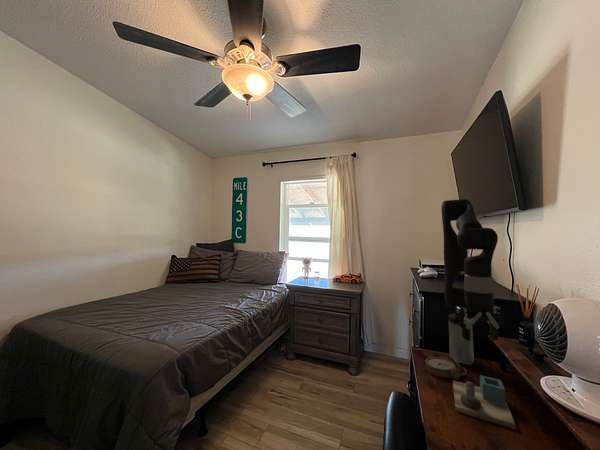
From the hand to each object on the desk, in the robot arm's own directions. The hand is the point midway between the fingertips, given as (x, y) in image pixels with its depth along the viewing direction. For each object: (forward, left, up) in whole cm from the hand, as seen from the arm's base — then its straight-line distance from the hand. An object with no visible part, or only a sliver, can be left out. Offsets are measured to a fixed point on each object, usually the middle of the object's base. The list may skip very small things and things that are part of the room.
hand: (480, 339), depth 75 cm
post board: (-7, 0, -25) cm, 26 cm away
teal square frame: (-11, +4, -23) cm, 26 cm away
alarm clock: (-23, -10, -25) cm, 36 cm away
